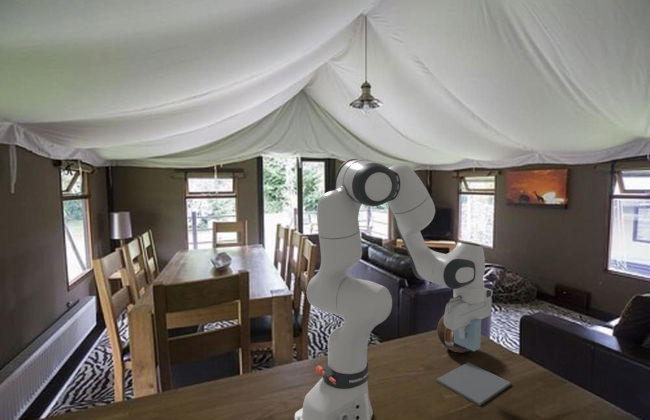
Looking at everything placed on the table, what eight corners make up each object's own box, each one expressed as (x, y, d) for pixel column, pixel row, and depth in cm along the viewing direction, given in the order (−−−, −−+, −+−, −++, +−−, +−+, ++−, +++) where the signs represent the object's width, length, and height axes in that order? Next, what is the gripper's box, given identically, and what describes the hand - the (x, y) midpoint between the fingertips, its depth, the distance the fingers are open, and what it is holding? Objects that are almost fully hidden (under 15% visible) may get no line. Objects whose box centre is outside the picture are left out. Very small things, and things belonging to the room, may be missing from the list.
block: (473, 351, 101) (474, 322, 100) (453, 342, 107) (454, 315, 106) (480, 348, 103) (481, 320, 102) (460, 339, 109) (460, 312, 108)
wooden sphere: (457, 338, 140) (457, 303, 139) (487, 355, 126) (488, 316, 125) (428, 345, 134) (429, 309, 133) (456, 363, 120) (457, 323, 119)
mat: (479, 405, 97) (479, 403, 97) (436, 381, 109) (436, 378, 109) (510, 384, 107) (510, 382, 107) (468, 364, 119) (468, 362, 119)
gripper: (457, 302, 95) (456, 349, 96) (495, 289, 107) (494, 331, 108) (439, 296, 100) (438, 340, 101) (477, 284, 112) (476, 324, 113)
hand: (467, 335), depth 105 cm, fingers closed on block, 3 cm apart
